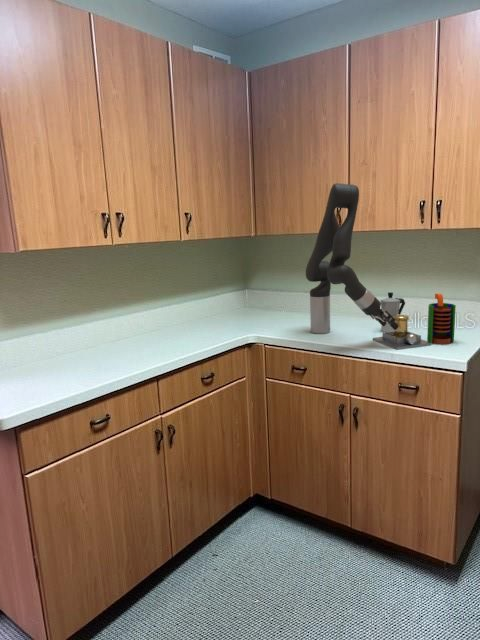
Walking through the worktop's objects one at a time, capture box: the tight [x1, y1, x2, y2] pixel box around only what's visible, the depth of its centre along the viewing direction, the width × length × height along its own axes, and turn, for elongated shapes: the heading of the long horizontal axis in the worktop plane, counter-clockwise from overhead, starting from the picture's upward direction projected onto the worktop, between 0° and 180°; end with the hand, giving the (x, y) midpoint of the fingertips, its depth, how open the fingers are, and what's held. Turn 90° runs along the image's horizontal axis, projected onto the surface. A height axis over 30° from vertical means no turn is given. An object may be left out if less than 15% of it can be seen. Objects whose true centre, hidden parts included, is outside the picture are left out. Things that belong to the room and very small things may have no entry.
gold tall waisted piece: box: [394, 314, 410, 338], centre depth 202 cm, size 6×6×10 cm
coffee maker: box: [379, 291, 406, 333], centre depth 224 cm, size 15×9×18 cm, turn 115°
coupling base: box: [372, 330, 433, 351], centre depth 203 cm, size 18×16×5 cm
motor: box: [426, 292, 457, 346], centre depth 199 cm, size 10×9×20 cm
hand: (390, 326), depth 201 cm, fingers open, 8 cm apart
